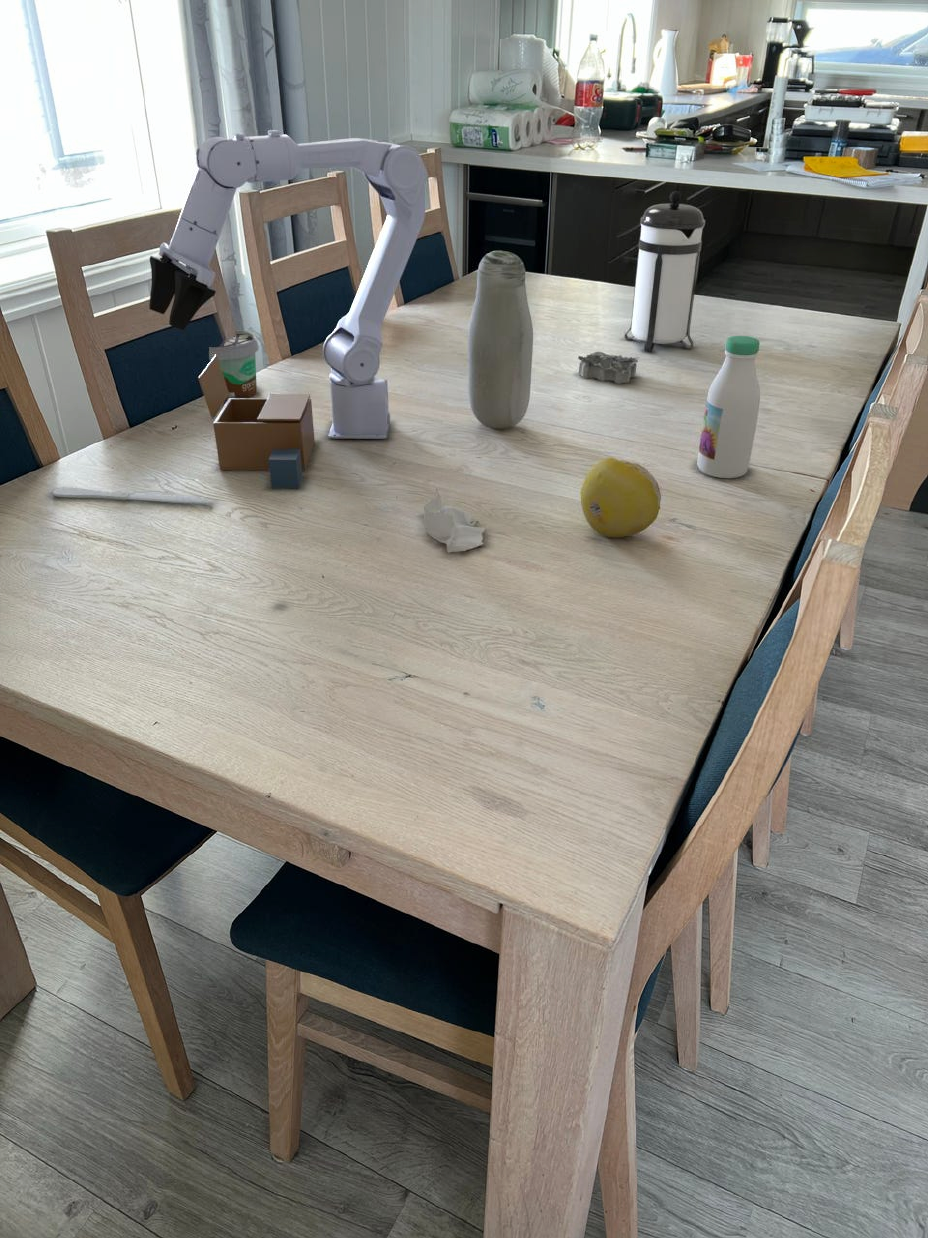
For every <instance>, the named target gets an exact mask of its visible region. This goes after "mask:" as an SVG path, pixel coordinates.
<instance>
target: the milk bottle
mask: <svg viewBox="0 0 928 1238" xmlns="http://www.w3.org/2000/svg"><path fill="white" fill-rule="evenodd" d="M759 349H760V340H759V339H758V338H756V337H753V336H748V335H732V336H729V337H728V338H726V342H725V350H724V354H725V358H724V361H723V364H722V365H721V368H720V370H719V371H718V373H717V375H715V377H714V379H713V381H712V383H711V385H710V387H709V390H708V393H707V398H706V402H705V408H704V414H703V421H702V427H701V433H700V440H699V447H698V453H697V460H696V466H697V469H698V470H699V471H700V472H701V473H703V474H705V475H708V476H711V477H714V478H720V479H735V478H740V477H743V476H744V475H745V474H746V473H747V472H748V471H749V467H750V463H751V457H752V451H753V447H754V446H753V445H754V440H755V435H756V430H757V423H758V418H759V417H758V416H759V410H760V405H761V387H760V386H761V385H760V383H759V379H758V376H757V370H756V358H757V357H758V355H759V354H758V352H759Z"/></svg>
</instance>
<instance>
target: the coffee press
mask: <svg viewBox="0 0 928 1238" xmlns="http://www.w3.org/2000/svg"><path fill="white" fill-rule="evenodd" d="M668 198H669V201H670V203H659V204H654V205H652V206H651V205H650V206H649V207H648V208H646V210H644V213H643V215H642V216H641V217H640V219H639V223H640V226H641V227H640V236H639V238H638V246H637V247H638V253H637V258H636V269H635V278H634V292H633V293H634V294H633V300H632V301H633V302H632V313H631V314H632V315H631V323H630V327H629V329H628V330H627V331H626V333H625V334H624V339H625V340H626V341H630V340H631V339H633V338H634V337H635V339H637V340H640V341H642V342H645V345H644V347H643V348H644V349H643V350H644V352H647V353H652V352H653V349H654V347H655V345H656V344H664V345H665V344H675V343H681V344H682V346H683V347H684V348H685V349H687V350H688V349H689V350H690V349H691V348H692V347H693V346H694V341H693V339H692V336H691V333H690V332H691V325H692V316H693V309H694V303H695V302H694V301H695V293H696V287H697V286H696V285H697V279H698V271H699V263H700V254H701V251H702V243H703V240H702V234H703V229H704V227H705V226H706V219H704V215H703V212H702V211H701V209H699V208H697V207H696V206H693V205H690V204H685V203H679V202H680V201H681V199H682V194H681V193H680V192H679V191H678V190H675V191H672V192H671V193H670V195H669V196H668ZM630 331H631V334H632V335H633V336H632V337H629V336H628V334H629V332H630ZM686 338H687V340H688V341H689V343H690V345H688V344H687V343H686V342H685V339H686Z"/></svg>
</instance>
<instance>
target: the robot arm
mask: <svg viewBox="0 0 928 1238" xmlns="http://www.w3.org/2000/svg"><path fill="white" fill-rule="evenodd" d="M233 137H234V138H233V139H232V138H229V139H228V138H225V137H222V136H212V137H209V138H208V139H206V140H205V141H203V143H202V144H201V146H199V147H197V148H196V152H195V162H196V166H197V169H196V172H195V175H194V178H193V180H192V182H191V185H190V187H189V189H188V192H187V195H186V198H185V202H184V203H183V206H182V209H181V212H180V214H179V218H178V220H177V224H176V226H175V230H174V232H173V235H172V237H171V240H170V242H169V243H166V242H164V241H163V242H162V243H161V244H160V246H159V252H158V256H160V258H158V257H156V256H153V255H150V257H149V264H150V273H151V284H150V296H149V306H148V307H149V310H151V311H153V312H155V313H159V314H161V315H165V313H166V312H167V310H168V309H169V307H170V305H171V303H172V306H171V310H170V315H169V321H168V325H170V326H171V327H174V328H177V329H180V330H182V331H184V330H185V329H186V328H187V327H188V325H190V323H191V321H192V319H194V316H195V315H196V314H197V313H198V311H199V310H200V309H201V308H202V307H203V305H204V304H205V303H206V302H208V301H209V300H210V299H212V298H213V297H214V296H215V295H216V292H217V291H216V289H214V288H212V285H213V284H214V280H215V277H216V275H217V273H216V272H215V271H213V270H212V268H211V267H210V264H211V261H212V258H213V256H214V253H215V250H216V247H217V246H218V242H219V239H220V238H221V237H220V236H221V234H222V231H223V228H224V226H225V223H226V221H227V218H228V216H229V212H230V210H231V207H232V203H233V200H234V197H235V194H236V192H237V189H238V188H241V187H243V186H244V185H245V184H246V183H249V184H253V183H264V182H265V183H266V182H277V181H291V180H294V178H295V177H296V176H297V174H298V173H299V172H300V170H302V169H303V170H304V169H328V168H329V169H331V168H332V169H333V168H351V169H353V170H354V171H356V172H359V173H362V174H363V176H364V178H365V179H366V181H367V182H368V183H369V184H370V186H371V187H372V188H373V189H374V190H375V192H376V193H377V194H378V195H379V198H380V200H381V203H382V205H383V208H384V210H385V212H386V219H385V221H384V224H383V226H382V229H381V231H380V233H379V236H378V239H377V241H376V243H375V246H374V249H373V250H372V253H371V256H370V259H369V261H368V264H367V267H366V269H365V272H364V274H363V277H362V279H361V282H360V284H359V287H358V289H357V291H356V295H355V297H354V299H353V302H352V304H351V307H350V309H349V312H348V313H347V314H346V315H344V316H342V317H341V319H339V320H338V322H337V324H336V327H335V328H334V330H333V331H332V333H330V334H329V335H328V336H327V337H326V339H325V340H324V343H323V345H322V356H323V359H324V361H325V363H326V364H327V365H328V366H329V367H330V373H329V386H330V387H329V388H330V400H331V415H332V424H331V427H330V430H329V433H328V439H329V440H330V439H331V440H332V439H333V440H334V439H335V440H336V439H337V440H340V439H341V440H385V439H387V437H388V432H389V427H390V424H391V413H390V411H389V410H390V409H389V408H390V406H389V386H388V385H389V384H388V378H387V379H386V378H380V377H376V376H377V374H378V372H379V369H380V364H381V363H380V362H381V361H380V355H381V350H382V347H383V345H384V343H383V342H384V341H383V336H382V328H381V327H382V324H383V323H384V320H385V318H386V315H387V312H388V310H389V307H390V306H391V303H392V300H393V297H394V295H395V293H396V291H397V288H398V286H399V284H400V281H401V278H402V276H403V274H404V271H405V269H406V266H407V264H408V261H409V258H410V256H411V254H412V251H413V249H414V246H415V244H416V242H417V239H418V237H419V234H420V231H421V229H422V227H423V224H424V222H425V218H426V189H425V187H426V185H425V184H426V182H427V180H428V177H429V174H428V170H427V168H426V166H425V163H424V160H423V158H422V157H421V155H420V153H419V152H418V151H417V150H416V149H415V148H414V147H412V146H410V145H401V144H400V145H399V144H396V143H392V142H389V141H388V140H384V139H376V140H374V139H371V138H360V137H350V138H349V137H348V138H340V139H332V140H322V141H313V142H311V141H310V142H303V143H297V142H295V140H293V139H292V138H291V137H290V136H289V135H288V134H283V133H281V131H280V130H277V129H269V130H268V131H267V135H251V136H250V135H249V136H245V134H244V133H242V132H238V133H237V132H236V133H234V135H233ZM172 301H173V302H172Z"/></svg>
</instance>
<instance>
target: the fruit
mask: <svg viewBox="0 0 928 1238" xmlns="http://www.w3.org/2000/svg"><path fill="white" fill-rule="evenodd" d="M585 475H586V476H585V477H584V480H583V482H582V485H581V489H580V505H581V510H582V512H583V517H584V518H585V520H586V522H587V523H588V525H589V526H590V527H591V528H592V530H593V531H595V532H596V533H597V534H599V535H601V536H604V537H607V538H624V537H629V536H633V535H636V534H639V533H642V532H643V531H644V530H646V529H648V528H649V527H650V526H651V525H652V524H653V523H654V522H655V521H656V520H657V518H658V516H659V511H660V510H661V502H662V501H661V500H662V493H661V489H660V486H659V483H658V481H657V480H656V479H655V477H654V476H653V474H652V473H651V472H649V470H648V469H647V468H645V467H644V466H642V465H641V464H639V463H635V462H631V461H627V460H619V459H617V458H615V457H607V458H604V459H602V460H599V461H598V462H596V464H594V465H593V466H592V467H591V468H590V470H589V471H588V472H587V474H585Z"/></svg>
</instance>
